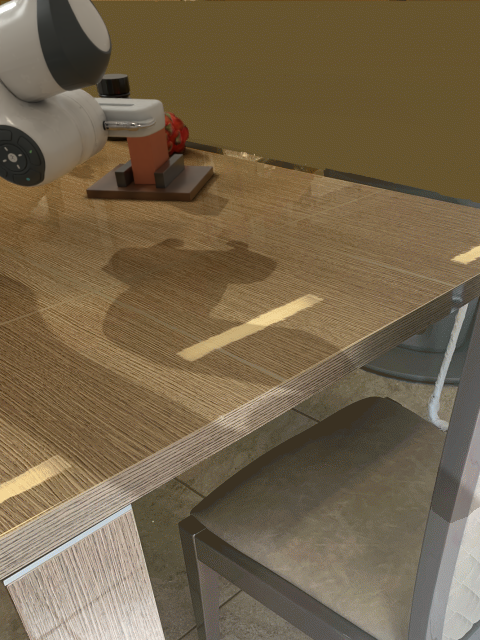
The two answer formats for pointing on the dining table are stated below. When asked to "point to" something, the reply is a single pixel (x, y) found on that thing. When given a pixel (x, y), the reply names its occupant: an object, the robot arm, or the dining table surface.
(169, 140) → the dragon fruit
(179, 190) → the plate with two ridges
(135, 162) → the reddish-brown tall block
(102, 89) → the ink bottle
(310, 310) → the dining table surface
